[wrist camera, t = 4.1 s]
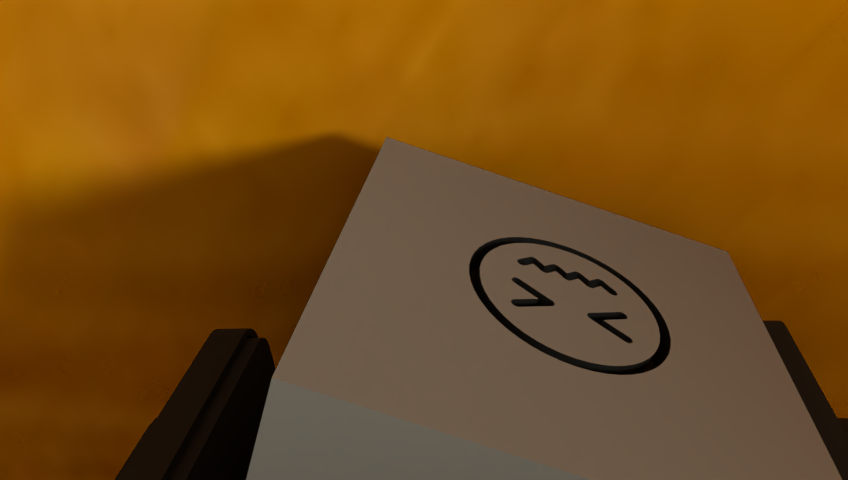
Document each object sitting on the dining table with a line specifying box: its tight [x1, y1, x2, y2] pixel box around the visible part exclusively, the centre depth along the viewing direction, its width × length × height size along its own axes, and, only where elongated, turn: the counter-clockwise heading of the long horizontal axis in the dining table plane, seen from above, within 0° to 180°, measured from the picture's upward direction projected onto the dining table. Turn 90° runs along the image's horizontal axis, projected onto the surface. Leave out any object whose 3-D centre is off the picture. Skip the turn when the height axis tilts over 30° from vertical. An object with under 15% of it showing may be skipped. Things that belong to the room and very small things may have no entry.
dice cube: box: [246, 137, 842, 480], centre depth 9 cm, size 5×5×5 cm
